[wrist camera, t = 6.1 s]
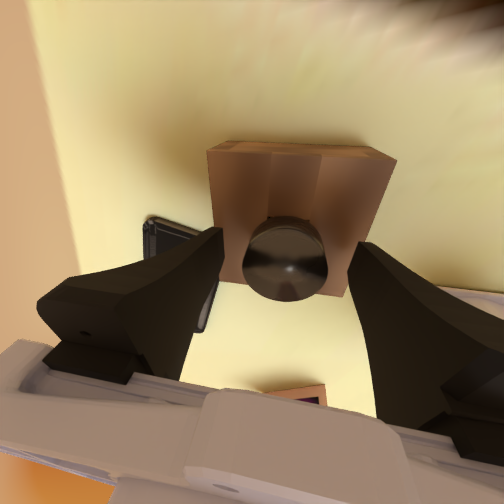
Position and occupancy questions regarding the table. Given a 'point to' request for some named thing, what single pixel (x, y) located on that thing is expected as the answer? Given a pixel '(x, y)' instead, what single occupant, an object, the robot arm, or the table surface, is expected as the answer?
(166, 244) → the phone
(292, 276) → the dark round knob
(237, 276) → the box
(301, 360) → the table surface
